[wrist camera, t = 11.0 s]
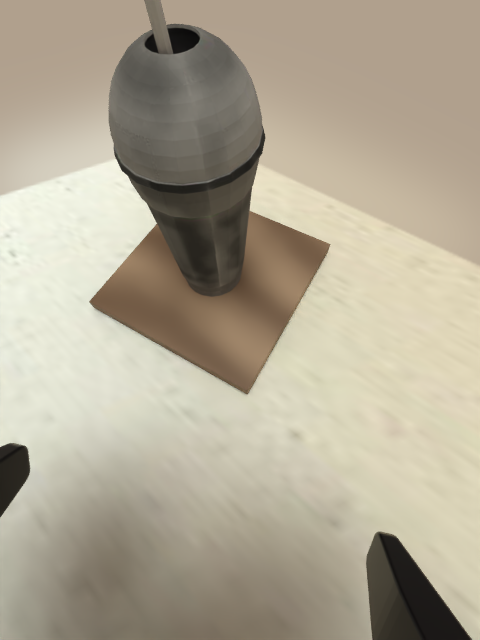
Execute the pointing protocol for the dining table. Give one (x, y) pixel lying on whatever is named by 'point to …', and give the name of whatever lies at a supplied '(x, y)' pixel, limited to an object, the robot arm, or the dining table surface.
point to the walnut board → (216, 300)
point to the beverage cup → (189, 144)
